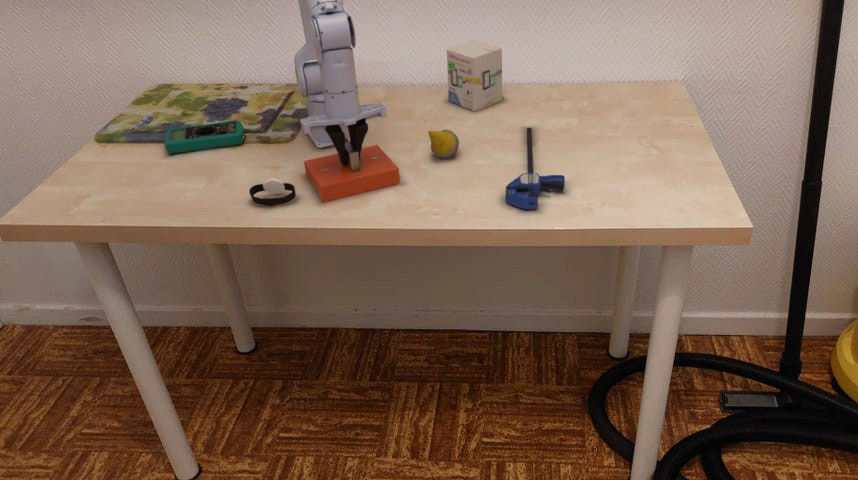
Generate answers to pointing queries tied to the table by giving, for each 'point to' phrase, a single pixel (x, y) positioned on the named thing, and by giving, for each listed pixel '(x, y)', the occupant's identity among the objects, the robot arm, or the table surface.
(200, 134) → the digital multimeter
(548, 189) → the bar clamp
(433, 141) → the yellow pointed rounded piece
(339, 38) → the robot arm
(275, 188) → the watch
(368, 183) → the orange block
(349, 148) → the grey block with button
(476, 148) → the table surface
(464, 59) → the ink box
